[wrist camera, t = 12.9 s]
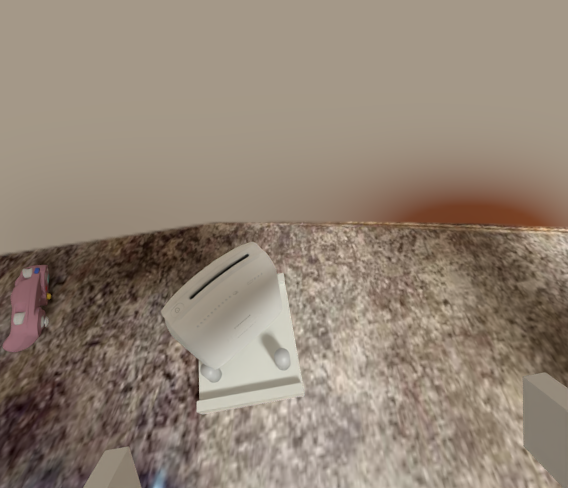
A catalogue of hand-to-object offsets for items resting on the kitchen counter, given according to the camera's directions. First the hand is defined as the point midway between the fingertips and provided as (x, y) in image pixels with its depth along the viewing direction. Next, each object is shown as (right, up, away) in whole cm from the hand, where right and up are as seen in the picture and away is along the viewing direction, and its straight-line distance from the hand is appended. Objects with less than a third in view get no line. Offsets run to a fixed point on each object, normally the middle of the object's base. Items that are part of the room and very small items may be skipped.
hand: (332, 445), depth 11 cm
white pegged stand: (-6, -5, +28) cm, 29 cm away
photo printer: (-6, -3, +25) cm, 25 cm away
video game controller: (-33, -2, +31) cm, 45 cm away
